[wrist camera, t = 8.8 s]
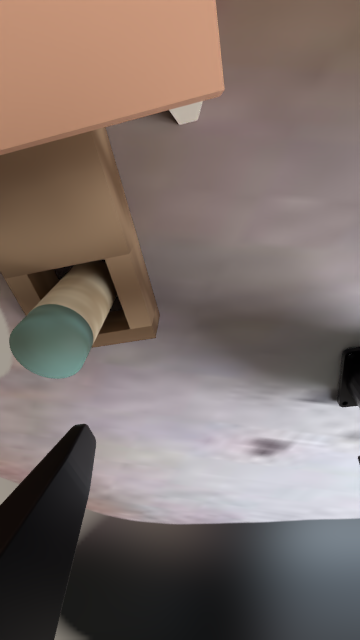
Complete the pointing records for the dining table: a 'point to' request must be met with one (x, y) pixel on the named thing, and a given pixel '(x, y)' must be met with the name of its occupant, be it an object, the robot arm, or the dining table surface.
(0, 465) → the dining table surface
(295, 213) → the dining table surface
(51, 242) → the socket block
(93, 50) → the footed pink board
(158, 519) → the dining table surface
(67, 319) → the peg
